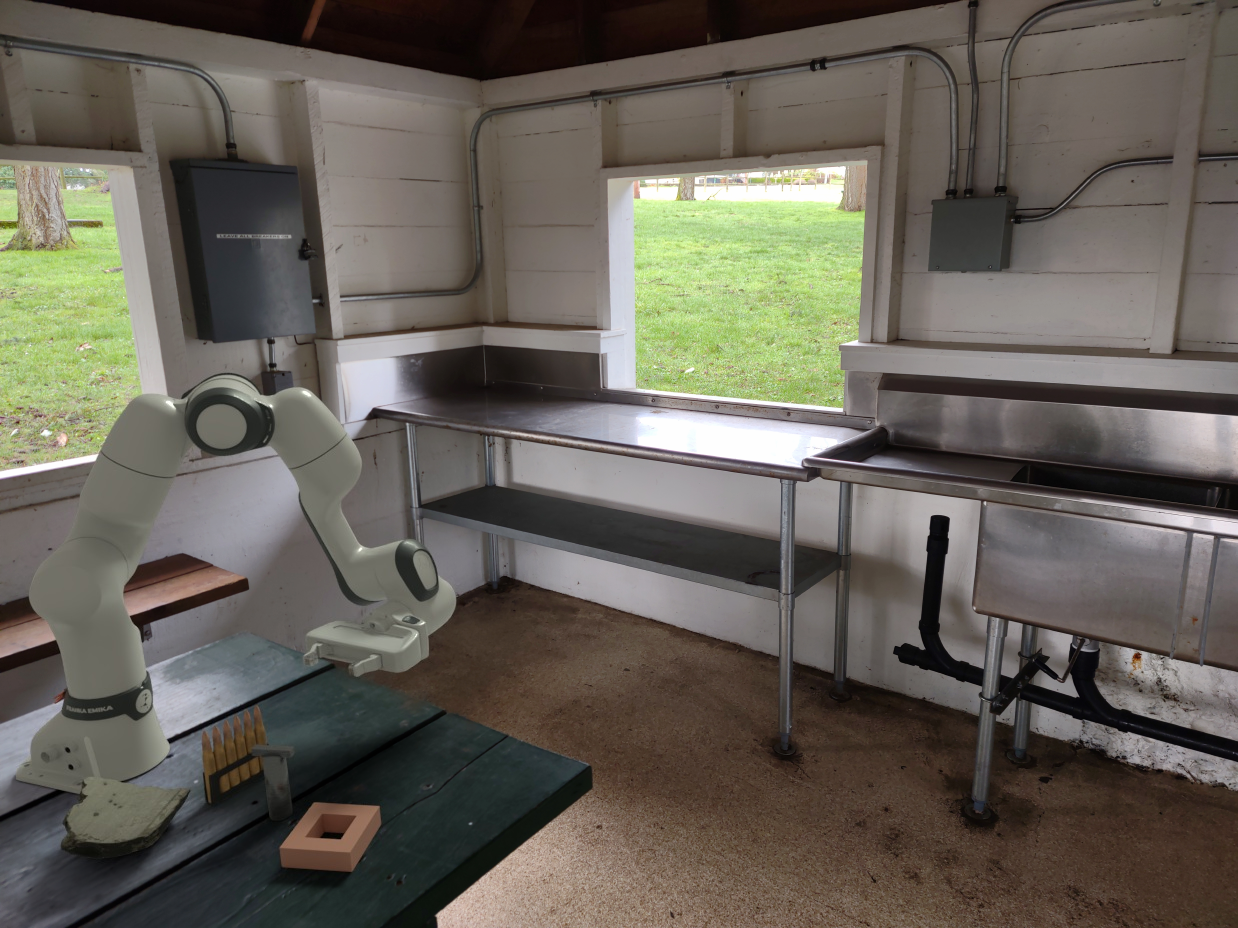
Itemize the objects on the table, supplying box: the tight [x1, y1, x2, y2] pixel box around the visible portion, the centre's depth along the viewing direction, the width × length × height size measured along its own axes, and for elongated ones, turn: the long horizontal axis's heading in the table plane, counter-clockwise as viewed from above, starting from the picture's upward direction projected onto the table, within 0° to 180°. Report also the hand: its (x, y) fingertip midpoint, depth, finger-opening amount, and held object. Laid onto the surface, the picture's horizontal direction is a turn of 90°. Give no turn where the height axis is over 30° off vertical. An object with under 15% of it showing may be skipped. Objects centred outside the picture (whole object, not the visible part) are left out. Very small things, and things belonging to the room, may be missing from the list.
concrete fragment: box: [60, 777, 191, 859], centre depth 120 cm, size 15×10×15 cm
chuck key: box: [251, 744, 296, 822], centre depth 125 cm, size 6×3×11 cm, turn 83°
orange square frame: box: [278, 801, 382, 873], centre depth 119 cm, size 10×10×3 cm
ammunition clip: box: [201, 704, 269, 807], centre depth 132 cm, size 11×2×12 cm, turn 148°
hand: (328, 666), depth 133 cm, fingers open, 8 cm apart
